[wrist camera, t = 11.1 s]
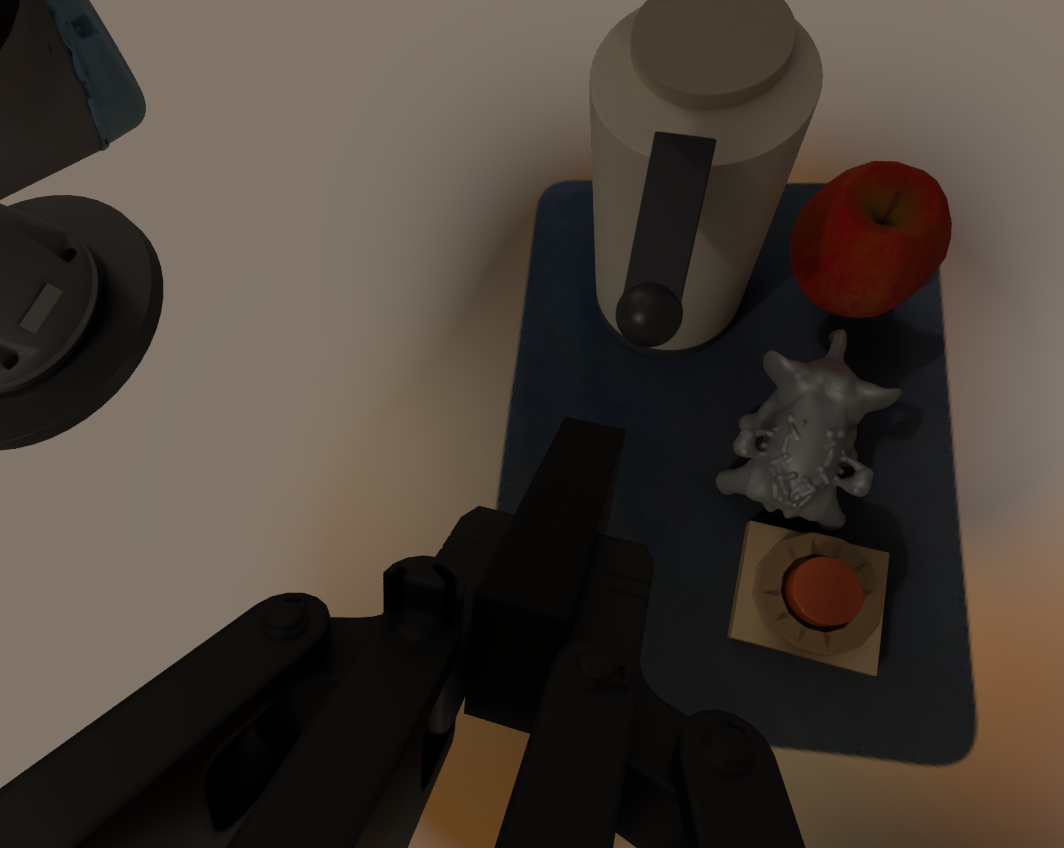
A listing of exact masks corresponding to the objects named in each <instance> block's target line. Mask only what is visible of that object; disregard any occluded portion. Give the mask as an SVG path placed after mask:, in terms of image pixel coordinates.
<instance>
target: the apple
mask: <svg viewBox="0 0 1064 848" xmlns="http://www.w3.org/2000/svg"><path fill="white" fill-rule="evenodd" d="M951 224H952V222H951V217H950V212H949V207H948V201H947V198H946V196H945V194H944V192H943V190H942V189H941V187H940V185H939V184H938V182H937V180H935V179H934V178H933V177H932V176H930V175H929V174H928V173H926V172H925V171H923V170H920V169H917V168H914V167H911V166H908V165H905V164H902V163H899V162H891V161H888V162H887V161H873V162H870V163H866V164H863V165H860V166H857V167H854V168H852V169H849V170H846V171H845V172H843V173H842V174H840V175H839V176H837V177H836V178H835V179H833V180H832V181H830V182H829V183H828V184H826V185H825V186H823V187H822V188H821V189H820V190H819V191H818V192H817V193H816V194H815V195H814V196H813V197H812V198H811V199H810V201H809V202H808V203H807V204H806V205H805V206H804V207H803V208H802V210H801V212H800V214H799V216H798V217H797V219H796V222H795V225H794V228H793V231H792V235H791V238H790V263H791V267H792V271H793V275H794V277H795V279H796V281H797V283H798V285H799V287H800V288H801V290H802V292H803V293H804V295H805V297H806V298H807V299H808V300H809V301H810V302H812V303H813V304H814V305H816V306H817V307H818V308H820V309H821V310H823V311H825V312H828V313H831V314H834V315H837V316H844V317H851V318H865V317H874V316H878V315H880V314H883V313H885V312H887V311H890V310H892V309H894V308H895V307H897V306H899V305H900V304H902V303H904V302H905V301H906V300H907V299H908V298H909V297H911V296H912V295H913V294H914V293H915V292H916V291H917V290H919V289H920V288H921V287H922V286H923V285H924V284H925V283H927V282H928V280H929V279H930V278H931V276H932V275H933V274H934V272H935V271H936V270H937V268H938V267H939V266H940V264H941V263H942V262H943V260H944V259H945V258H946V254H947V250H948V247H949V243H950V239H951V226H952V225H951Z"/></svg>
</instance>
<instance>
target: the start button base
mask: <svg viewBox="0 0 1064 848" xmlns="http://www.w3.org/2000/svg"><path fill="white" fill-rule="evenodd" d="M823 556H824V557H832V558H835V559H838V560H840V561H842V562H844V563H845V564H847V565H848V566H849V567H850V568H851V569H853V571H854V572H855V573H856V575H857V576H858V578H859V580H860V582H861V585H862V588H863V603H862V606H861V608H860V610H859V612H858V613H857V615H856V616H855V617H854V618H853V619H851V620H850V621H848V622H846V623H844V624H841V625H834V626H816V625H812V624H810V623H807V622H805V621H804V620H802V619H801V618H800V617H798V616H797V615H796V614H795V613H794V611H793V610H792V609H791V607H790V605H789V603H788V601H787V598H786V593H785V585H786V580H787V578H788V575H789V574H790V572H791V571H792V570H793V569H794V568H795V567H796V566H797V565H799V564H800V563H802V562H805V561H807V560H809V559H812V558H815V557H823ZM888 563H889V553H888V552H883V551H879V550H875V549H871V548H866V547H862V546H858V545H853V544H849V543H847V542H846V541H845V540H843V539H840V538H835V537H831V536H827V535H823V534H818V533H814V532H810V533H802V532H798V531H794V530H789V529H785V528H781V527H777V526H772V525H768V524H764V523H760V522H755V521H749V522H748V523H747V524H746V530H745V536H744V542H743V548H742V553H741V559H740V565H739V571H738V577H737V583H736V589H735V595H734V600H733V606H732V612H731V618H730V624H729V630H728V636H727V637H728V638H732V639H736V640H739V641H743V642H747V643H751V644H754V645H758V646H762V647H765V648H769V649H773V650H777V651H780V652H784V653H788V654H791V655H795V656H799V657H803V658H806V659H810V660H814V661H817V662H821V663H825V664H829V665H832V666H836V667H840V668H843V669H847V670H851V671H855V672H858V673H862V674H866V675H871V676H877V669H878V660H879V650H880V640H881V631H882V621H883V611H884V602H885V592H886V582H887V573H888Z"/></svg>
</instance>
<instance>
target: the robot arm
mask: <svg viewBox="0 0 1064 848" xmlns="http://www.w3.org/2000/svg"><path fill="white" fill-rule="evenodd" d="M145 112H146V104H145V99H144V96H143V93H142V91H141V89H140V87H139V85H138V83H137V81H136V79H135V78H134V75H133V74H132V72H131V70H130V68H129V66H128V65H127V63H126V61H125V60H124V58H123V56H122V54H121V52H120V51H119V49H118V47H117V45H116V44H115V42H114V40H113V39H112V37H111V35H110V34H109V32H108V30H107V29H106V27H105V25H104V24H103V22H102V20H101V19H100V17H99V15H98V14H97V12H96V11H95V9H94V7H93V6H92V4H91V2H90V1H89V0H0V200H1V199H3V198H5V197H7V196H9V195H11V194H13V193H15V192H17V191H19V190H21V189H23V188H25V187H27V186H29V185H31V184H33V183H35V182H37V181H39V180H41V179H43V178H45V177H47V176H50V175H52V174H54V173H56V172H58V171H60V170H62V169H64V168H66V167H68V166H70V165H72V164H74V163H76V162H78V161H80V160H82V159H84V158H86V157H88V156H90V155H92V154H94V153H96V152H98V151H100V150H101V151H103V150H105V149H107V148H108V147H109V144H110V143H111V142H113V141H114V140H116V139H118V138H119V137H121V136H122V135H124V134H126V133H127V132H129V131H131V130H132V129H134V128H135V127H137V126H138V125H139V124H140V123H141V122H142V120H143V118H144V116H145ZM105 299H106V277H105V272H104V269H103V266H102V264H101V261H100V259H99V258H98V256H97V255H96V253H95V252H94V251H93V250H92V249H91V248H90V247H89V246H88V245H87V244H86V243H84V242H83V241H82V240H80V239H79V238H78V237H77V236H75V235H74V234H72V233H71V232H70V231H68V230H66V229H64V228H62V227H60V226H58V225H56V224H54V223H52V222H49V221H46V220H44V219H41V218H38V217H35V216H33V215H30V214H27V213H24V212H22V211H19V210H16V209H13V208H11V207H8V206H5V205H2V204H0V397H5V396H9V395H14V394H17V393H20V392H24V391H26V390H29V389H31V388H33V387H35V386H37V385H39V384H41V383H43V382H45V381H46V380H48V379H50V378H51V377H52V376H54V375H55V374H57V373H58V372H59V371H61V370H62V369H63V368H64V367H66V366H67V365H68V364H69V363H70V362H71V361H72V360H73V359H74V358H75V357H76V356H77V355H78V353H79V352H80V351H81V350H82V349H83V347H84V346H85V345H86V343H87V342H88V340H89V339H90V337H91V336H92V334H93V332H94V331H95V329H96V327H97V325H98V322H99V320H100V318H101V315H102V312H103V308H104V304H105ZM625 433H626V430H625V429H621V428H616V427H611V426H607V425H602V424H597V423H593V422H588V421H583V420H578V419H574V418H569V417H565V418H564V420H563V422H562V424H561V426H560V428H559V430H558V431H557V433H556V435H555V437H554V439H553V441H552V443H551V445H550V447H549V449H548V451H547V453H546V455H545V457H544V459H543V461H542V462H541V464H540V466H539V468H538V470H537V472H536V474H535V476H534V478H533V480H532V482H531V484H530V486H529V488H528V490H527V492H526V494H525V495H524V497H523V499H522V501H521V503H520V505H519V507H518V509H517V511H516V513H515V515H514V514H510V513H506V512H502V511H498V510H494V509H490V508H486V507H482V506H478V507H476V508H475V509H473V510H472V511H470V512H468V513H467V514H465V515H464V516H462V517H461V518H460V520H459V521H458V523H457V524H456V526H455V527H454V529H453V530H452V532H451V535H450V536H449V537H448V538H447V540H446V541H445V543H444V544H443V547H442V549H440V551H439V552H438V554H437V555H436V557H430V556H416V557H409V558H405V559H403V560H401V561H398V562H396V563H394V564H392V565H391V566H390V567H389V568H388V569H387V570H386V571H385V572H384V573H383V574H384V575H383V580H384V581H383V582H384V583H383V585H384V586H383V587H384V589H383V591H384V612H383V614H381V615H378V616H374V617H362V618H345V617H339V618H338V617H330V614H329V611H328V608H327V605H326V604H324V603H323V602H322V601H321V600H320V599H319V598H317V597H315V596H312V595H309V594H306V593H284V594H280V595H276V596H272V597H269V598H268V599H266V600H264V601H262V602H260V603H258V604H256V605H255V606H253V607H252V608H251V609H249V610H248V611H246V612H245V613H244V614H243V615H241V616H240V617H238V618H237V619H236V620H234V621H233V622H231V623H230V624H228V625H227V626H226V627H224V628H223V629H221V630H220V631H219V632H217V633H216V634H215V635H213V636H212V637H210V638H209V639H208V640H206V641H205V642H203V643H202V644H201V645H199V646H198V647H196V648H195V649H194V650H192V651H191V652H190V653H188V654H187V655H185V656H184V657H183V658H181V659H180V660H179V661H177V662H176V663H174V664H173V665H171V666H170V667H169V668H167V669H166V670H164V671H163V672H162V673H160V674H159V675H158V676H156V677H155V678H153V679H152V680H151V681H149V682H148V683H147V684H145V685H144V686H143V687H141V688H140V689H138V690H137V691H135V692H134V693H132V694H131V695H130V696H129V697H127V698H126V699H124V700H123V701H121V702H120V703H119V704H117V705H116V706H114V707H113V708H112V709H110V710H109V711H107V712H106V713H105V714H103V715H102V716H100V717H99V718H98V719H96V720H95V721H93V722H92V723H91V724H89V725H88V726H86V727H85V728H84V729H82V730H81V731H80V732H78V733H77V734H76V735H74V736H73V737H71V738H70V739H68V740H67V741H66V742H64V743H63V744H61V745H60V746H59V747H57V748H56V749H54V750H53V751H52V752H50V753H49V754H48V755H46V756H45V757H43V758H42V759H41V760H39V761H38V762H36V763H35V764H34V765H32V766H31V767H30V768H28V769H27V770H25V771H24V772H22V773H21V774H20V775H18V776H17V777H16V778H14V779H13V780H11V781H10V782H9V783H7V784H6V785H4V786H3V787H2V788H0V848H408V845H409V843H410V841H411V838H412V836H413V834H414V831H415V829H416V826H417V824H418V822H419V820H420V817H421V815H422V813H423V810H424V808H425V805H426V803H427V801H428V798H429V796H430V794H431V791H432V789H433V787H434V784H435V782H436V780H437V777H438V775H439V772H440V770H441V768H442V766H443V763H444V761H445V758H446V756H447V754H448V751H449V749H450V747H451V744H452V742H453V736H454V732H455V720H456V716H457V714H458V712H459V709H460V707H461V705H462V702H463V700H464V698H465V708H464V714H468V715H471V716H474V717H477V718H480V719H484V720H487V721H490V722H494V723H497V724H500V725H503V726H506V727H510V728H513V729H516V730H520V731H522V732H526V733H529V734H530V737H529V740H528V743H527V746H526V750H525V753H524V756H523V759H522V762H521V765H520V768H519V772H518V775H517V778H516V781H515V784H514V787H513V791H512V794H511V797H510V800H509V803H508V807H507V810H506V813H505V816H504V819H503V823H502V826H501V829H500V832H499V836H498V839H497V842H496V845H495V848H613V845H614V838H615V832H616V833H617V834H618V835H620V836H621V837H623V838H624V839H625V840H627V841H628V842H630V843H631V844H632V845H634V846H635V847H636V848H805V845H804V842H803V839H802V836H801V833H800V830H799V827H798V824H797V821H796V818H795V815H794V812H793V810H792V806H791V803H790V800H789V797H788V794H787V791H786V788H785V785H784V782H783V779H782V776H781V773H780V770H779V767H778V764H777V761H776V758H775V756H774V753H773V751H772V750H771V748H770V746H769V744H768V742H767V740H766V738H765V737H764V736H763V735H762V734H761V733H760V732H759V731H758V730H757V729H756V728H755V727H754V726H753V725H752V724H750V723H749V722H747V721H745V720H743V719H742V718H740V717H738V716H736V715H735V714H732V713H728V712H724V711H720V710H705V711H699V712H697V713H695V714H693V715H692V716H690V717H689V716H687V715H685V714H684V713H682V712H680V711H679V710H677V709H675V708H674V707H672V706H670V705H669V704H668V703H666V702H665V701H664V700H662V699H661V698H659V697H658V696H657V694H656V693H655V692H654V691H653V690H652V689H651V688H650V687H649V685H648V684H647V682H646V680H645V679H644V677H643V674H642V671H641V667H640V654H641V648H642V641H643V635H644V628H645V622H646V615H647V609H648V602H649V596H650V589H651V583H652V576H653V570H654V562H653V559H652V557H651V555H650V552H649V550H648V547H647V545H644V544H640V543H635V542H631V541H627V540H623V539H619V538H615V537H611V536H607V535H605V532H606V529H607V525H608V521H609V516H610V511H611V506H612V500H613V495H614V490H615V485H616V480H617V475H618V470H619V464H620V459H621V454H622V449H623V444H624V439H625Z"/></svg>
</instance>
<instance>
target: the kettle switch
mask: <svg viewBox="0 0 1064 848" xmlns="http://www.w3.org/2000/svg"><path fill="white" fill-rule="evenodd" d="M716 142H717V141H716V139H715V138H707V137H700V136H692V135H684V134H676V133H668V132H661V131H656V132H655V133H654V138H653V144H652V149H651V154H650V159H649V164H648V169H647V174H646V179H645V184H644V189H643V194H642V200H641V205H640V210H639V215H638V220H637V225H636V230H635V235H634V240H633V245H632V251H631V256H630V261H629V266H628V271H627V276H626V281H625V286H624V291H623V294H622V296H621V297H620V299H619V301H618V303H617V307H616V323H617V326H618V329H619V331H620V332H621V334H622V335H623V336H624V337H625V338H626V339H627V340H628V341H629V342H631V343H633V344H635V345H637V346H640V347H656V346H660V345H662V344H664V343H666V342H668V341H669V340H670V339H671V338H672V337H673V336H674V335H675V334H676V333H677V331H678V330H679V328H680V326H681V323H682V319H683V307H682V303H681V301H682V297H683V292H684V287H685V283H686V278H687V274H688V269H689V265H690V260H691V256H692V251H693V247H694V242H695V237H696V233H697V228H698V224H699V219H700V215H701V210H702V206H703V201H704V196H705V192H706V187H707V183H708V178H709V174H710V169H711V165H712V160H713V156H714V151H715V146H716Z"/></svg>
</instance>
